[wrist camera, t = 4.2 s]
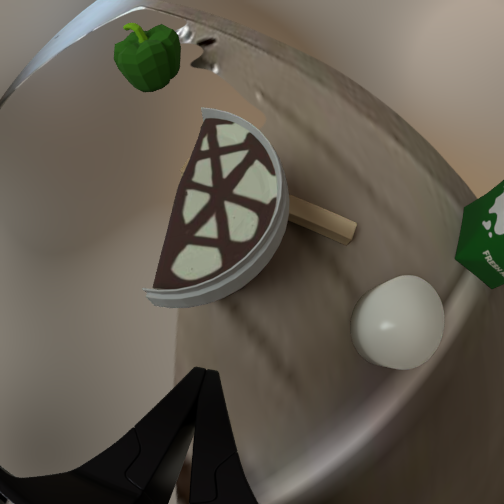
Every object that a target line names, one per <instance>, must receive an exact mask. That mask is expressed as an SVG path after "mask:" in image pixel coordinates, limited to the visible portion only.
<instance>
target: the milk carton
mask: <svg viewBox="0 0 504 504" xmlns="http://www.w3.org/2000/svg"><path fill="white" fill-rule="evenodd" d="M455 260H457V261H458V262H459V263H461V264H462V265H463V266H464V267H466V268H467V269H468V270H469V271H471V272H472V273H473V274H474V275H476V276H477V277H478V278H479V279H480V280H482V281H483V282H484V283H485V284H486V285H488V286H489V287H490V288H491V289H494V288H496V287H498V286H501V285H503V284H504V180H503V181H502V182H501V183H499V184H498V185H497V186H496V187H494V188H493V189H492V190H491V191H489V192H488V193H487V194H485V195H484V196H482V197H480V198H479V199H477V200H475V201H474V202H472V203H471V204H469V205H467V206H466V207H464V213H463V220H462V226H461V231H460V236H459V241H458V246H457V251H456V255H455Z"/></svg>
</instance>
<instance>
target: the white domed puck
mask: <svg viewBox="0 0 504 504" xmlns="http://www.w3.org/2000/svg"><path fill="white" fill-rule="evenodd" d="M443 331H444V310H443V306H442V303H441V300H440V298H439V296H438V294H437V292H436V291H435V289H434V288H433V287H432V286H431V285H430V284H429V283H428V282H427V281H425V280H423V279H422V278H419V277H417V276H412V275H403V276H399V277H396V278H394V279H391V280H389V281H387V282H385V283H383V284H381V285H379V286H376V287H374V288H372V289H370V290H369V291H367V292H366V293H365V294H364V295H363V296H362V297H361V298H360V299H359V301H358V302H357V304H356V306H355V308H354V310H353V313H352V317H351V323H350V333H351V338H352V342H353V344H354V346H355V348H356V350H357V352H358V353H359V354H360V355H361V357H363V358H364V359H365V360H366V361H368V362H370V363H372V364H375V365H379V366H384V367H389V368H394V369H400V370H409V369H413V368H416V367H418V366H420V365H422V364H424V363H425V362H426V361H427V360H428V359H429V358H430V357H431V356H432V355H433V354H434V352H435V351H436V349H437V348H438V346H439V344H440V341H441V338H442V335H443Z"/></svg>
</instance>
